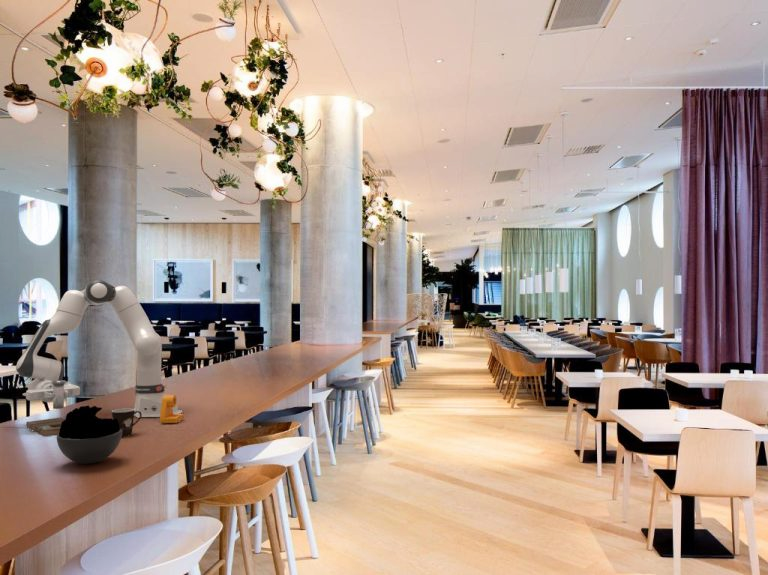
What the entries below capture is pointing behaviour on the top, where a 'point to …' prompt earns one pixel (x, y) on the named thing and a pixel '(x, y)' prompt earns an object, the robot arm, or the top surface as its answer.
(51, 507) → the top surface
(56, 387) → the glass spice jar
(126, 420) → the coffee mug
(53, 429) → the hole board
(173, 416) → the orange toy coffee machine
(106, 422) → the bowl of black rocks
